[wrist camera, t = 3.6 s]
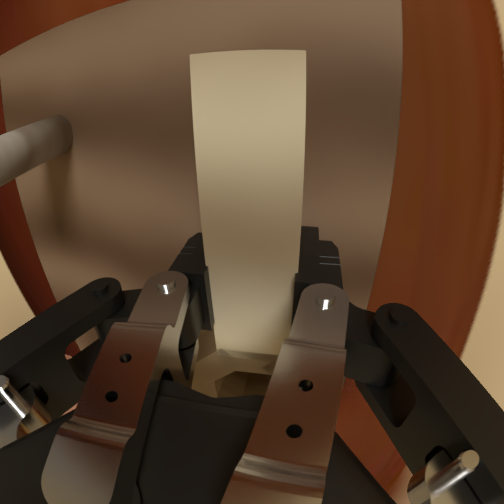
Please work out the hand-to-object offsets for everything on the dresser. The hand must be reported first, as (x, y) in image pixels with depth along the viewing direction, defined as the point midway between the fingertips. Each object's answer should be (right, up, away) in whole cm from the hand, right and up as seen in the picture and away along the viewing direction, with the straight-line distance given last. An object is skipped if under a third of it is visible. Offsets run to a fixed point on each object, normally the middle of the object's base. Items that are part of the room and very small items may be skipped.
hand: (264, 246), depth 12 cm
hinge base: (-4, 0, +2) cm, 5 cm away
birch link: (0, 0, +1) cm, 1 cm away
